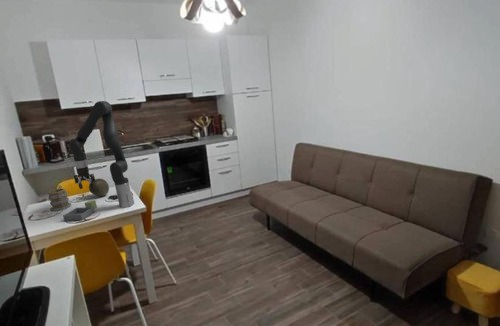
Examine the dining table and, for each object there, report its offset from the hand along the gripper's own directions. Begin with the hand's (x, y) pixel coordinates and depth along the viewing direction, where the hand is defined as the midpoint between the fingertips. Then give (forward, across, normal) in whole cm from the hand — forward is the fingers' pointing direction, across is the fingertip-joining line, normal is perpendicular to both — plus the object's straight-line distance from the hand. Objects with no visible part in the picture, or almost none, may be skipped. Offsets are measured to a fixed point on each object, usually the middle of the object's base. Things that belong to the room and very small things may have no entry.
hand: (86, 188), depth 216 cm
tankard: (+16, +31, -9) cm, 36 cm away
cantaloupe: (+16, +11, -28) cm, 34 cm away
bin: (+16, 0, +13) cm, 21 cm away
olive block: (+16, 0, 0) cm, 16 cm away
